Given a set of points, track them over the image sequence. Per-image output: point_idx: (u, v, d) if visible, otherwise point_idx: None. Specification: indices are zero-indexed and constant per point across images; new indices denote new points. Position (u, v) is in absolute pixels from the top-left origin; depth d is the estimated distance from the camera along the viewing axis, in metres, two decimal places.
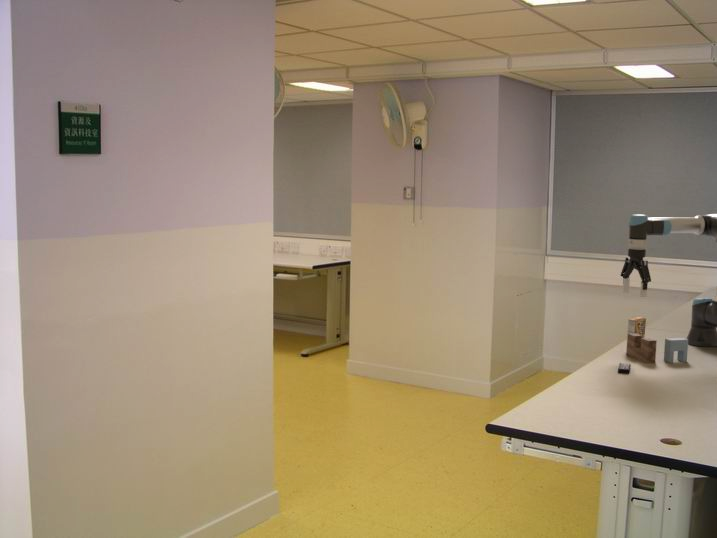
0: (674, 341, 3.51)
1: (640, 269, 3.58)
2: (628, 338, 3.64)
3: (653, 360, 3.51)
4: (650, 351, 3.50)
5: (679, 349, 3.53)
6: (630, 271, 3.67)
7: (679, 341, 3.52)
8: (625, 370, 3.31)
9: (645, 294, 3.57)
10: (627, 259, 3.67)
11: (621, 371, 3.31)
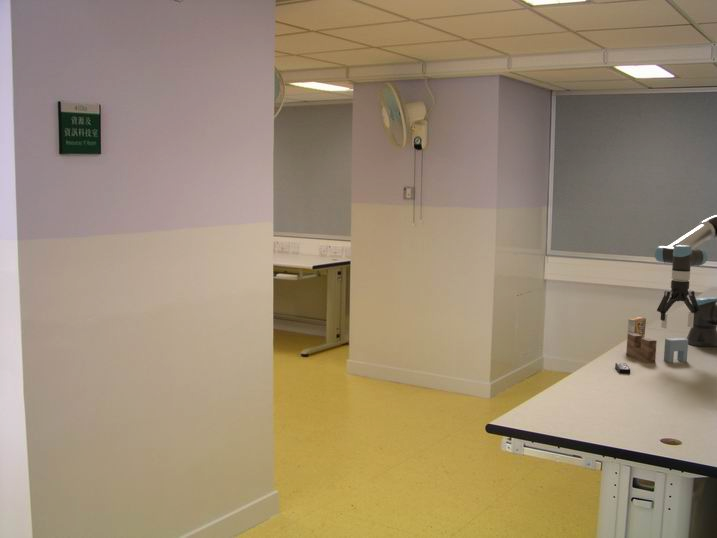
0: (674, 341, 3.51)
1: (669, 300, 3.51)
2: (628, 338, 3.64)
3: (653, 360, 3.51)
4: (650, 351, 3.50)
5: (679, 349, 3.53)
6: (687, 304, 3.53)
7: (679, 341, 3.52)
8: (627, 370, 3.31)
9: (664, 325, 3.50)
10: None
11: (623, 371, 3.31)
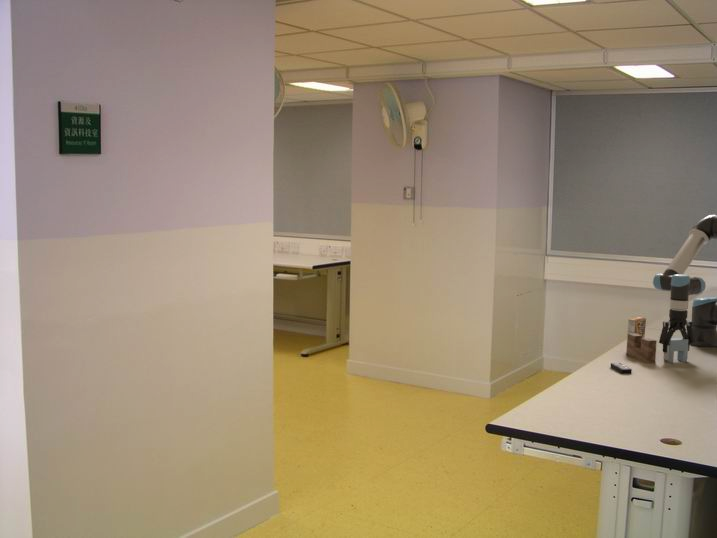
0: (674, 341, 3.51)
1: (669, 330, 3.53)
2: (628, 338, 3.64)
3: (653, 360, 3.51)
4: (650, 351, 3.50)
5: (679, 349, 3.53)
6: (683, 334, 3.54)
7: (679, 341, 3.52)
8: (628, 370, 3.31)
9: (666, 357, 3.53)
10: None
11: (625, 371, 3.31)
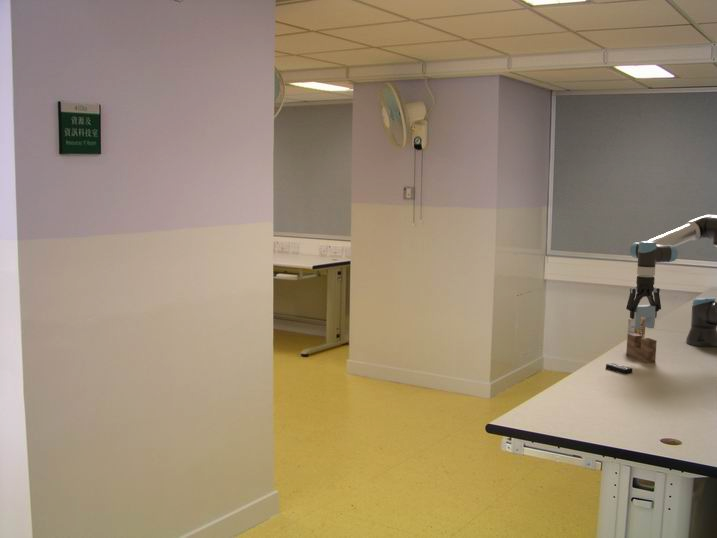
0: (641, 307, 3.53)
1: (636, 297, 3.55)
2: (628, 338, 3.64)
3: (653, 360, 3.51)
4: (650, 351, 3.50)
5: (646, 315, 3.54)
6: (650, 301, 3.56)
7: (646, 307, 3.54)
8: (630, 370, 3.31)
9: (633, 323, 3.54)
10: None
11: (627, 372, 3.31)
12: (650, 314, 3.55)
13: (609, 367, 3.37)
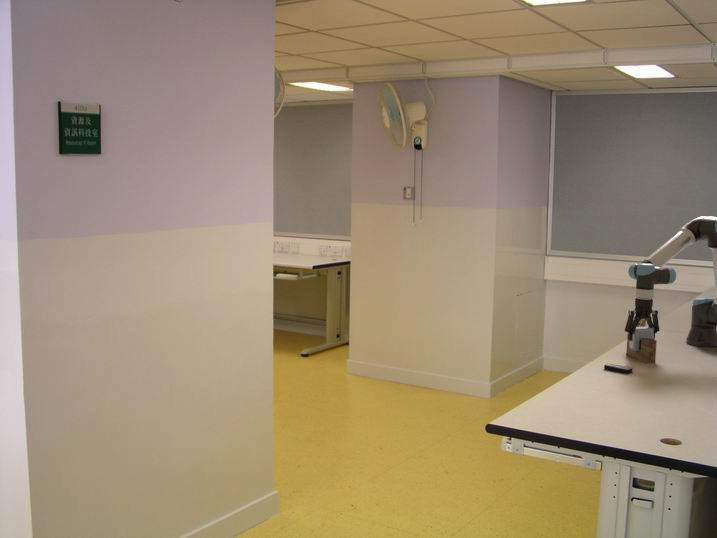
0: (639, 330, 3.54)
1: (635, 319, 3.56)
2: None
3: (653, 360, 3.51)
4: (650, 351, 3.50)
5: None
6: (649, 323, 3.57)
7: (644, 330, 3.55)
8: (631, 369, 3.32)
9: (632, 345, 3.56)
10: None
11: (629, 371, 3.31)
12: (648, 336, 3.56)
13: (608, 368, 3.36)
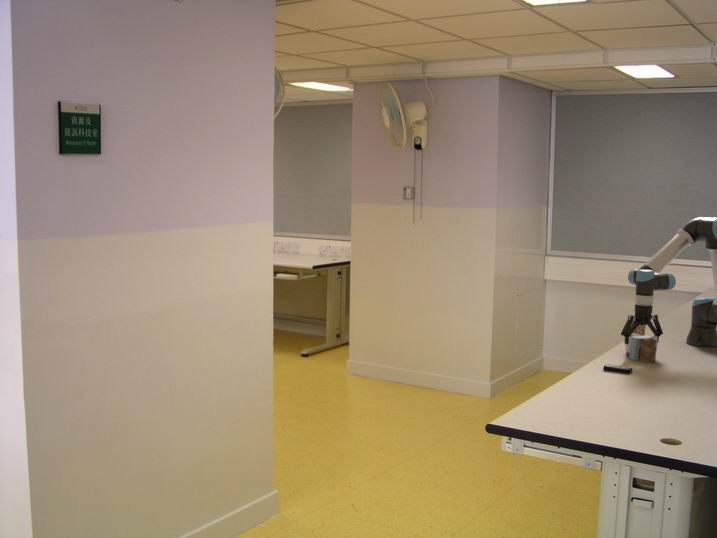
0: (639, 339, 3.55)
1: (633, 324, 3.56)
2: None
3: (653, 360, 3.51)
4: (650, 351, 3.50)
5: None
6: (651, 328, 3.58)
7: None
8: (631, 369, 3.32)
9: (628, 349, 3.55)
10: None
11: (630, 371, 3.31)
12: None
13: (608, 368, 3.35)
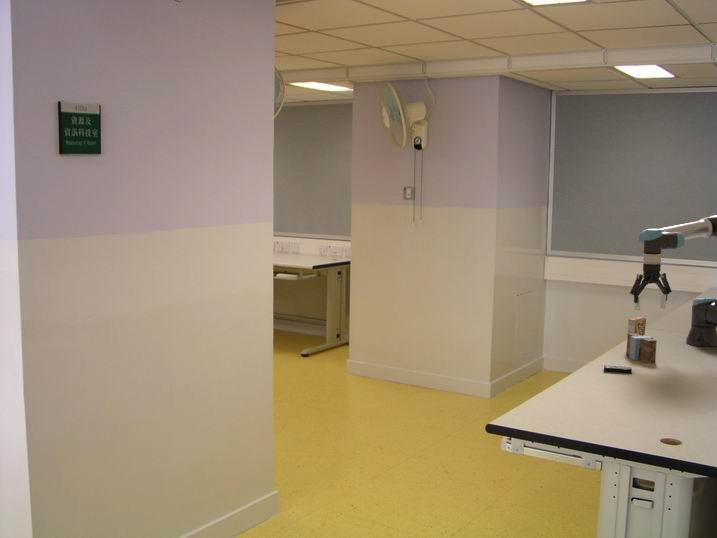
0: (639, 339, 3.55)
1: (642, 283, 3.60)
2: (628, 338, 3.64)
3: (653, 360, 3.51)
4: (650, 351, 3.50)
5: None
6: (659, 286, 3.62)
7: None
8: (631, 369, 3.33)
9: (637, 307, 3.60)
10: None
11: None
12: None
13: (609, 370, 3.33)
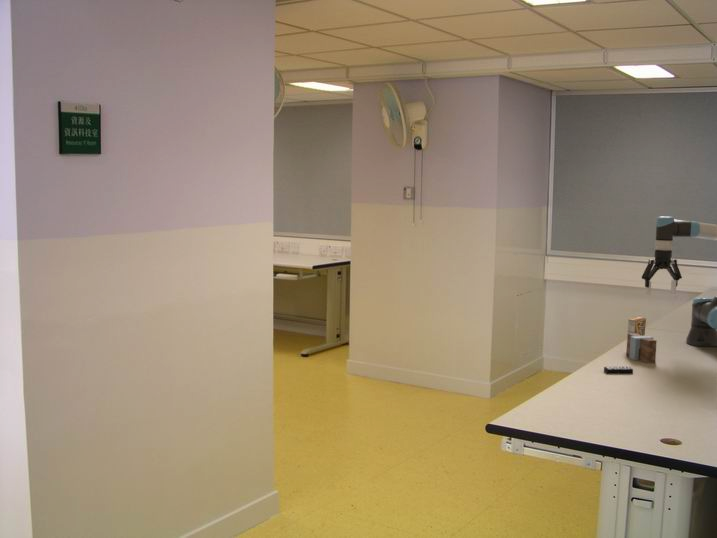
0: (639, 339, 3.55)
1: (653, 268, 3.74)
2: (628, 338, 3.64)
3: (653, 360, 3.51)
4: (650, 351, 3.50)
5: None
6: (670, 272, 3.75)
7: None
8: None
9: (648, 292, 3.73)
10: None
11: None
12: None
13: (612, 371, 3.31)
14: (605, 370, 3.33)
